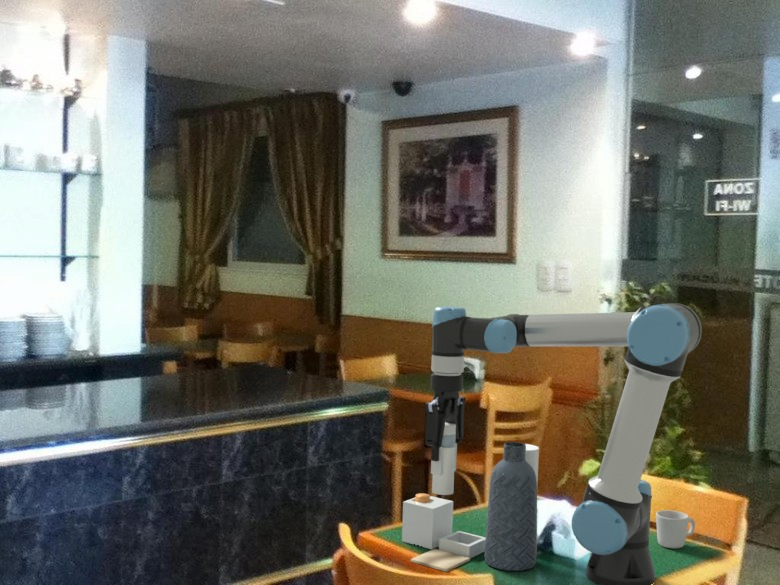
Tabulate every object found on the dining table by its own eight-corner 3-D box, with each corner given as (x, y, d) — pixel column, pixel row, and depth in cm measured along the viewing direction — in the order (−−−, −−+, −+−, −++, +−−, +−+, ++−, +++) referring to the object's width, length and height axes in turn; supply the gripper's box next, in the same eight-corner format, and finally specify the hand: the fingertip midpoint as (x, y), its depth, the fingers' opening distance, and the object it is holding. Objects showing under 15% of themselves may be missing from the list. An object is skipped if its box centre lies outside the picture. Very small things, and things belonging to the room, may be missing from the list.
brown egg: (431, 518, 239) (432, 495, 238) (423, 522, 236) (424, 498, 235) (420, 515, 241) (421, 492, 240) (411, 519, 238) (412, 495, 237)
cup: (683, 538, 246) (685, 508, 245) (703, 548, 238) (705, 517, 238) (648, 542, 242) (649, 511, 242) (667, 552, 235) (668, 520, 234)
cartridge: (457, 491, 223) (460, 424, 222) (445, 496, 219) (448, 427, 218) (439, 487, 226) (442, 421, 225) (427, 492, 222) (429, 424, 221)
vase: (521, 576, 215) (526, 452, 213) (474, 564, 222) (479, 444, 220) (545, 562, 225) (550, 444, 223) (499, 550, 232) (504, 436, 230)
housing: (488, 549, 232) (489, 509, 232) (468, 559, 225) (469, 517, 224) (422, 532, 244) (423, 494, 243) (401, 541, 237) (403, 501, 236)
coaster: (469, 560, 224) (470, 558, 224) (446, 571, 216) (446, 569, 216) (434, 551, 230) (434, 548, 230) (410, 561, 222) (410, 559, 222)
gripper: (454, 367, 230) (451, 462, 231) (411, 375, 215) (407, 476, 217) (481, 371, 225) (477, 468, 227) (438, 379, 211) (435, 482, 212)
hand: (443, 471), depth 222 cm, fingers closed on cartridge, 5 cm apart
